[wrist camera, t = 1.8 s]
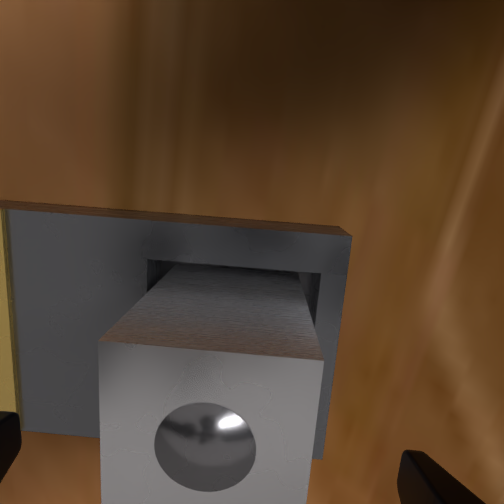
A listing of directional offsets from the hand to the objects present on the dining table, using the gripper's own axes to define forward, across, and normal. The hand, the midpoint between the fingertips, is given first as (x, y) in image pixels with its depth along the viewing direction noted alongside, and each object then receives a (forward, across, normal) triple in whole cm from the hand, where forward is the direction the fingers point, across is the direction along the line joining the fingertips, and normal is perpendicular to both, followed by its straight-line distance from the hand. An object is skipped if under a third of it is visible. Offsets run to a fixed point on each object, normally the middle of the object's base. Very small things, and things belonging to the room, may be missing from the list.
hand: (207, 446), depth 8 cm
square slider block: (+7, 0, 0) cm, 7 cm away
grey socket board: (+8, +6, 0) cm, 10 cm away
